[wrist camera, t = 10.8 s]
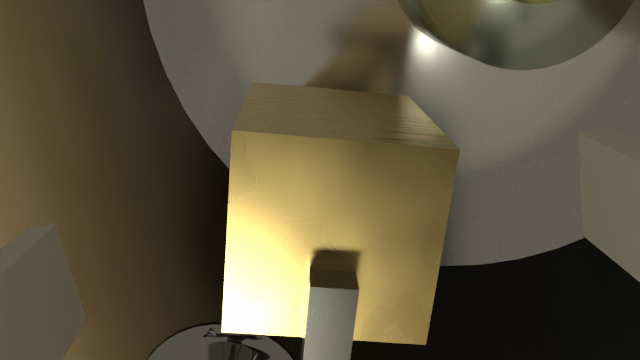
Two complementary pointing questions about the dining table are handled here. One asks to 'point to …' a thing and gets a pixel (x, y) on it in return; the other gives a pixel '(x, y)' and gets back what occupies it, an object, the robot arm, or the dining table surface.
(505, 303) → the dining table surface
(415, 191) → the knob
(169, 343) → the grey funnel
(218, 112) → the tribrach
